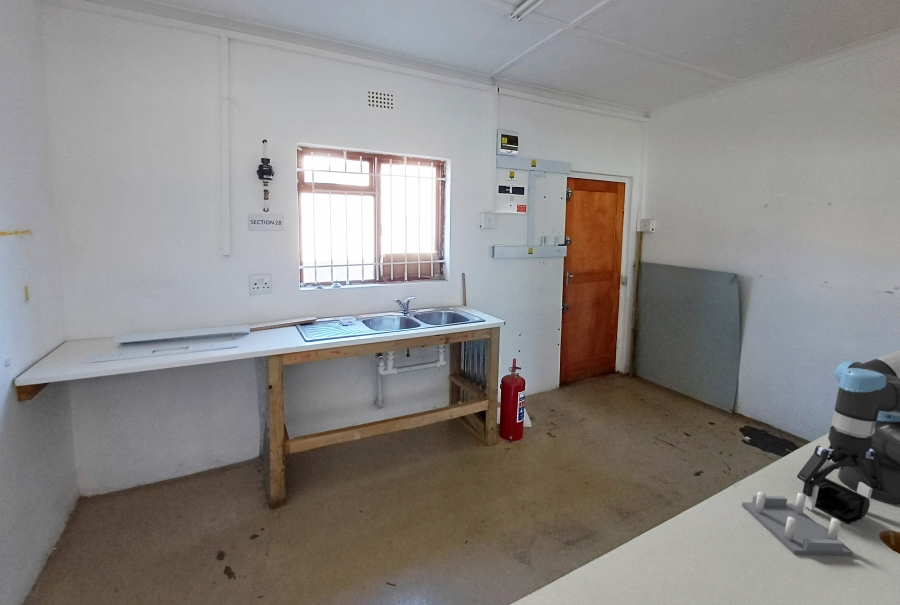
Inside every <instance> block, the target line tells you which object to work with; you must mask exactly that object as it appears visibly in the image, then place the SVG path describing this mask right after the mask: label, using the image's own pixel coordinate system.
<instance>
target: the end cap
mask: <svg viewBox="0 0 900 605" xmlns="http://www.w3.org/2000/svg"><path fill="white" fill-rule="evenodd" d="M817 486H818V487H819V490H818V494H817V499H816V504H815V508H816V509H818V510H820V511H822V512H823V513H825V514H827V515H828V516H831V518H836V519H838V520H840V521H841V523H843V524H846V525H850V524H853V523H856V522H858V521H860V520H862V519H864V518H865V516H866V515H867V514H868V512H869V510H870V505H871V502H870V501H871V500H870V501H869V499H868V498H867V497H865V496H863V495H861V494H859V493H857V491H855V490H853V489H851V488H849V487H846V486H844V485H842V484H839V483H838V482H835V481H834V480H831V479H829V478H827V477H825V478H824V479H823V480H821V481H820V482H819V483H818V484H817Z"/></svg>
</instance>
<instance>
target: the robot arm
mask: <svg viewBox="0 0 900 605" xmlns="http://www.w3.org/2000/svg"><path fill="white" fill-rule="evenodd" d="M834 376H835V380H837V382H838V389H837V390H838V391H837V394H836V400H835V404H834V410H833V415H832V420H831V426H830V428H829V433H828V441H829V444H830V445H829V446H828V448H827V447H823V446H821V445H816V446H815V448H814V451H813V454H812V455H811V456H810V458H809V459H808V460H807V461H806V463H805V464H804V466H803V467H801V470H800V471H799V472H798V473H797V476H796V478H797V479H799V480H800V481H802V482H803V483H804V484H803V487H802V493H803V494H805V495H806V500H805V504H804V507H806V508H807V509H809V510H810V511H815V508H816V507H815V504H816V499H817V494H818V490H819V487H818V486H817V484H818V483H819V482H820V481H821V480H823V479H824V478H827V477H828V475H830V474H831V473H832V472H833V471H834V470H838V473H837V474H838V475H837V478H838V480H840V482H841V483H843V484H844V485H845V486H847V488H849V489H850V490H852V491H854V492H857V493H859V494H861V495H863V496H865V497H867V498H868V499H869V501H871V499H875V500H876V501H881V502H884V503H888V504H893V505H899V506H900V349H898V350H897V351H893V352H891V353H887V354H885V355H882V356H879V357H877V358H874V359H872V360H869V361H866V362H865V361H864V362H860V361H855V360H848V361H847V360H846V361H843V362H842V363H839V365H838V366H837V367H836V369H835V371H834Z"/></svg>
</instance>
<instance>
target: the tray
mask: <svg viewBox="0 0 900 605" xmlns="http://www.w3.org/2000/svg"><path fill="white" fill-rule="evenodd" d="M805 500H806V495H805V494H804V493H803V492H797V496H796V500H795V504H794V503H788V498H787V497H786V496H785V495H784V496H780V495H779V496H778V495H767V494H766V493H765V492H763V491H757V494H756V495H753V496H752V500H751V501H752V502H749V501H747V502H743V501H742V503H741V507H742V508H744V509H745V510H746V511H747V513H749V514H750V515H751V516H752V517H753V518H754V519H755V520H757V522H759V523H760V524H761V525H762V527H764V528H765V529H766V530H767V531H768V532H769V533H771V535H773V536H774V537H775V538H776V539H777V541H779V542H780V543H781V544H782V545H783V546H784V547H785V548H786V549H787V550H788V551H789V552H791V553H792V555H805V556H806V555H807V556H810V555H811V556H813V555H814V556H839V557H840V556H841V557H853V555H854V551H853V550H851V549H850V548H849V547H848V546H847V545H845V544H844V542H842V540H840V539H838V537H839V534H840V529H841V528H840V527H841V524H842V521H840V520H838V519H836V518H834V517H831V519H830V523H829V527H828V530H826V529H825V528H824V527H822V526H821V524H819V523H818V522H816V521H815V520H814V519H813V518H811V517H810V516H808V515H807V513H805V512H804V507H805V505H804V504H805Z"/></svg>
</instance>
